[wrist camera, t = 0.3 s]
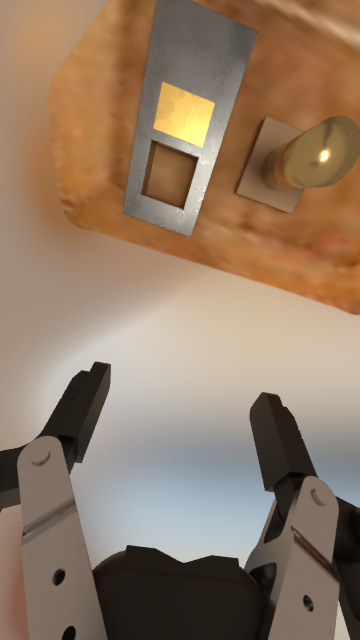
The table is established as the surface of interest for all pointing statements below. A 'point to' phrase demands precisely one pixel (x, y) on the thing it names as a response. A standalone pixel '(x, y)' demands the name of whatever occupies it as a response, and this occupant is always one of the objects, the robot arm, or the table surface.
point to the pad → (251, 178)
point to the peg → (314, 156)
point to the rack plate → (185, 102)
